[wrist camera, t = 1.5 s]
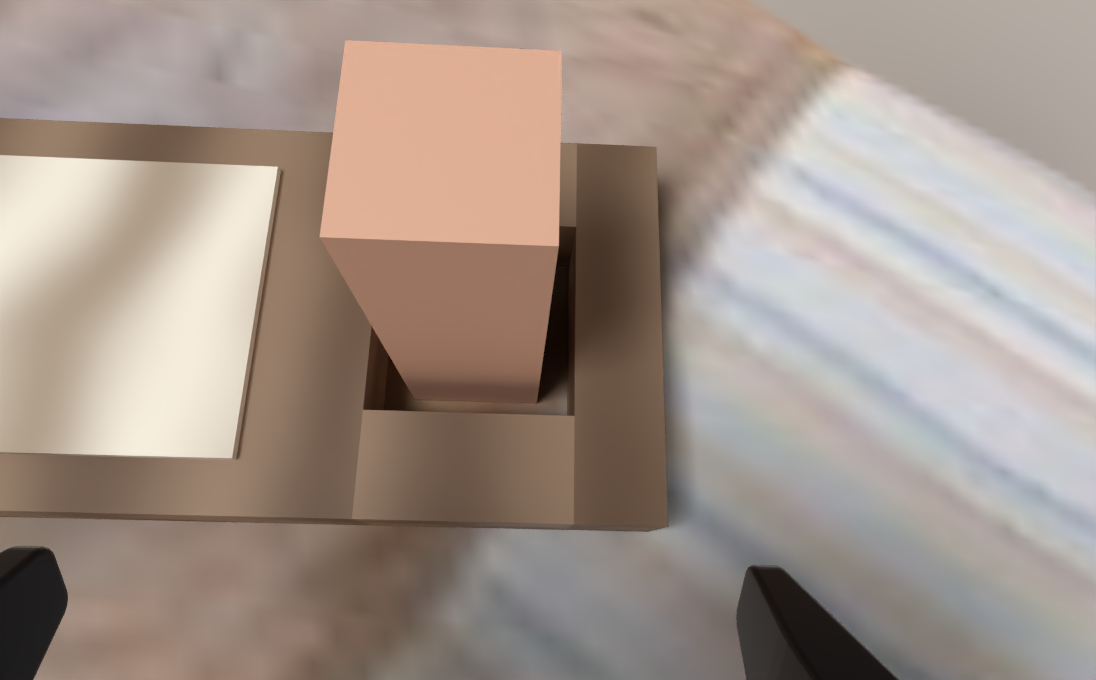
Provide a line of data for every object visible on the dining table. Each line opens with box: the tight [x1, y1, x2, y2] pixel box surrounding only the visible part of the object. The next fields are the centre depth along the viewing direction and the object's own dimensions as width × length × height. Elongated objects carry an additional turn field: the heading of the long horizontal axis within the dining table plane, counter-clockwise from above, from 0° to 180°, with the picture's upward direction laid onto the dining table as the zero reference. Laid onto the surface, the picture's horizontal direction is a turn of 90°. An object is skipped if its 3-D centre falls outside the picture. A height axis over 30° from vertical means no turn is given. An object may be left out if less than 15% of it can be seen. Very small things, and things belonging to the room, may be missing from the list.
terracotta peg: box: [320, 40, 562, 403], centre depth 18 cm, size 4×4×12 cm
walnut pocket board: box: [0, 118, 668, 532], centre depth 22 cm, size 22×12×3 cm, turn 89°
